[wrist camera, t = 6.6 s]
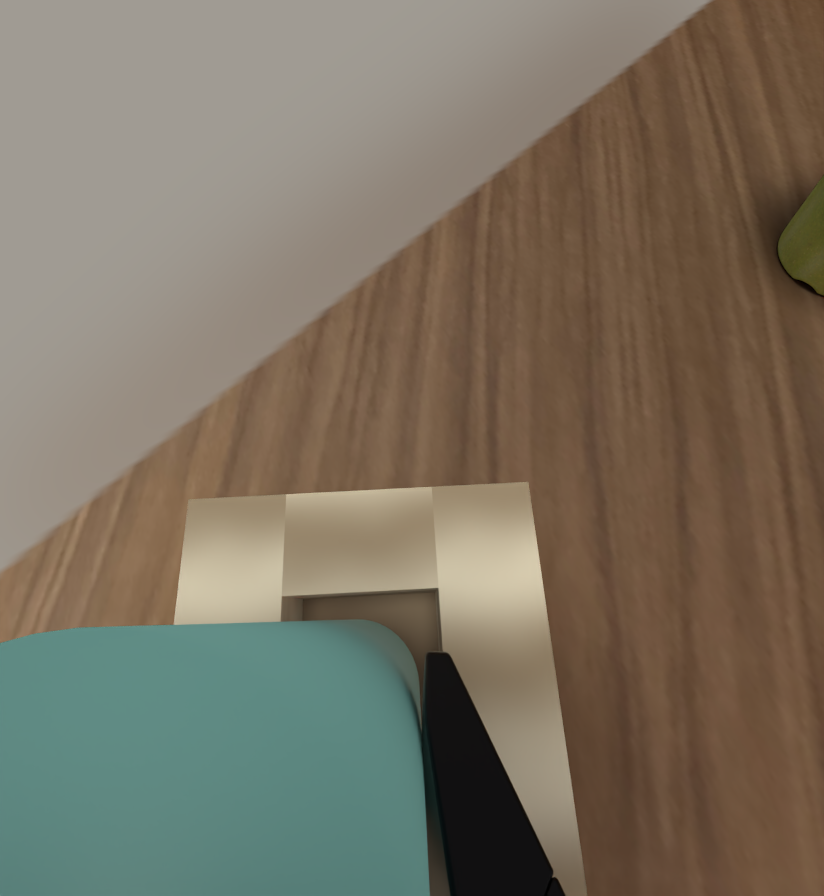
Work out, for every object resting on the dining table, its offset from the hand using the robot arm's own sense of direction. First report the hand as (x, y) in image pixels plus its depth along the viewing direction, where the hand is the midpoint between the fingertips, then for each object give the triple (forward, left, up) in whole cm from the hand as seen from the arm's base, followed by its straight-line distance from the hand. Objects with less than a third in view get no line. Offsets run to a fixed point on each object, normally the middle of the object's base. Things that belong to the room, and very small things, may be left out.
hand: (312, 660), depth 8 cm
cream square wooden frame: (-1, 0, -13) cm, 14 cm away
